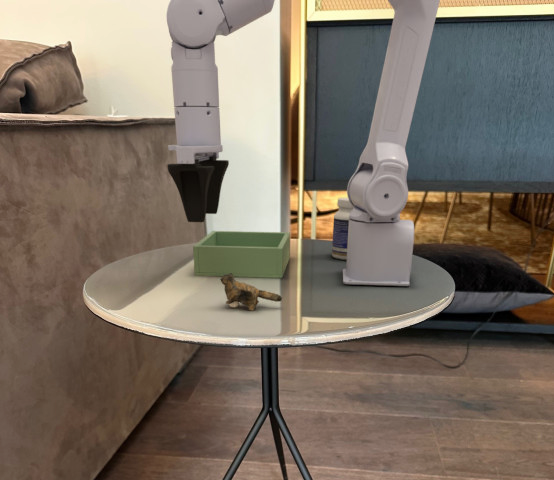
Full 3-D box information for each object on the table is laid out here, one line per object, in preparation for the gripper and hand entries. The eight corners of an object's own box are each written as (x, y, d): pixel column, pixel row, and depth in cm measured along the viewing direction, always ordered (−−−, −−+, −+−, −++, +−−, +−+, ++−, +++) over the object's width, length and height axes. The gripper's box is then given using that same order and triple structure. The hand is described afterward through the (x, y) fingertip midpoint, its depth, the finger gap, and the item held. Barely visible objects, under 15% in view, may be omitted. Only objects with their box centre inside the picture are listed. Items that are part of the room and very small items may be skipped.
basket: (289, 258, 92) (289, 232, 90) (282, 278, 79) (282, 248, 78) (213, 256, 93) (212, 230, 91) (194, 275, 81) (192, 246, 79)
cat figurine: (219, 299, 68) (224, 269, 66) (278, 315, 67) (285, 285, 65) (213, 306, 65) (218, 275, 63) (275, 322, 65) (282, 291, 63)
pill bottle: (356, 262, 89) (360, 201, 85) (326, 258, 92) (328, 199, 88) (369, 256, 94) (373, 198, 90) (340, 252, 96) (343, 196, 92)
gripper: (182, 109, 74) (188, 209, 79) (147, 105, 60) (158, 225, 66) (231, 109, 73) (234, 210, 79) (206, 104, 60) (212, 226, 65)
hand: (203, 217), depth 72 cm, fingers open, 7 cm apart
